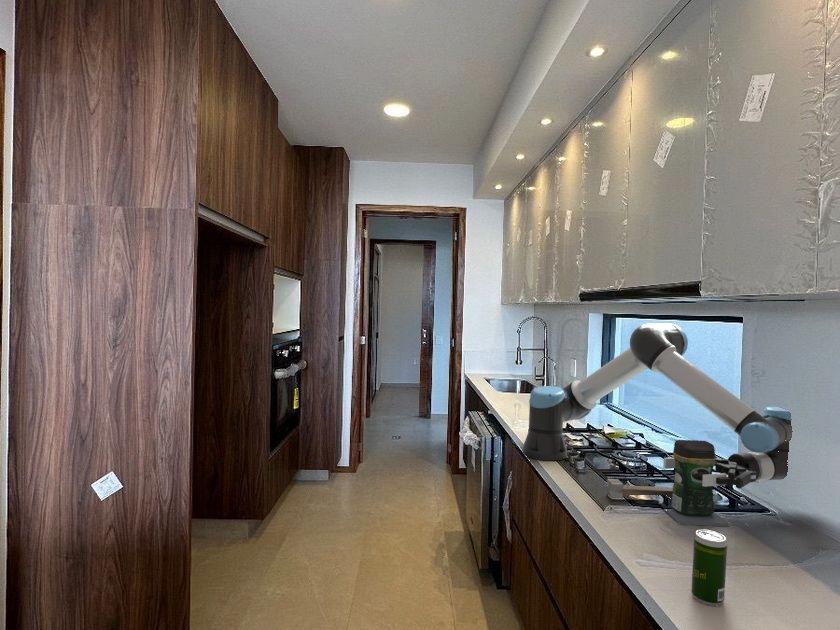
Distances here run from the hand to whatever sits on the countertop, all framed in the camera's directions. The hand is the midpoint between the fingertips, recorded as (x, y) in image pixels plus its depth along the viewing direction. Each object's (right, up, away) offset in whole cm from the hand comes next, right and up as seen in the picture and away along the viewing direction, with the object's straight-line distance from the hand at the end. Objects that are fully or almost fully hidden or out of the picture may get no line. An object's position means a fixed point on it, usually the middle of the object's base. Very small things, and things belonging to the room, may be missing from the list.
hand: (683, 471), depth 138 cm
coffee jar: (+3, -11, +1) cm, 11 cm away
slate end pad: (+3, -12, +1) cm, 12 cm away
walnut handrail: (-3, -11, +11) cm, 16 cm away
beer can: (-14, -13, -38) cm, 43 cm away
